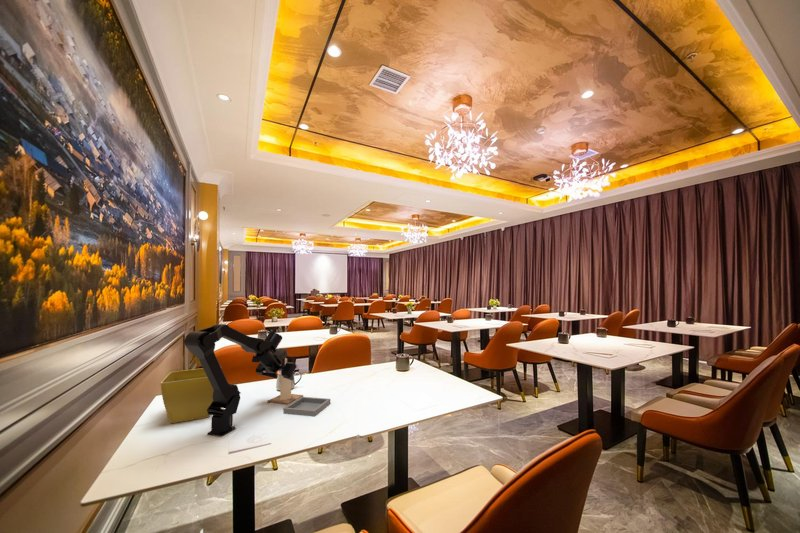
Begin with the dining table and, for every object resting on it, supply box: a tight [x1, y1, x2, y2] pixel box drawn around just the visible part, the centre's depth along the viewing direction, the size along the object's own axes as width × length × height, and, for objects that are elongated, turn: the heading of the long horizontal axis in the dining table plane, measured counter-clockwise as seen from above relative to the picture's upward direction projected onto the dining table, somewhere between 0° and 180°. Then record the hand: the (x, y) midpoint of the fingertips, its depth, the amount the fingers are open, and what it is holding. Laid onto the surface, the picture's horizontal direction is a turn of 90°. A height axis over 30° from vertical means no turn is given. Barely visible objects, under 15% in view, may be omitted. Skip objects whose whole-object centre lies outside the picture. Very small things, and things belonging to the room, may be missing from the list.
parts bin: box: [283, 396, 331, 417], centre depth 131 cm, size 14×14×2 cm
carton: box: [279, 374, 292, 400], centre depth 142 cm, size 4×4×11 cm
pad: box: [266, 393, 304, 406], centre depth 142 cm, size 11×11×1 cm
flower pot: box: [160, 367, 214, 424], centre depth 127 cm, size 19×19×17 cm
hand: (284, 378), depth 142 cm, fingers open, 9 cm apart
